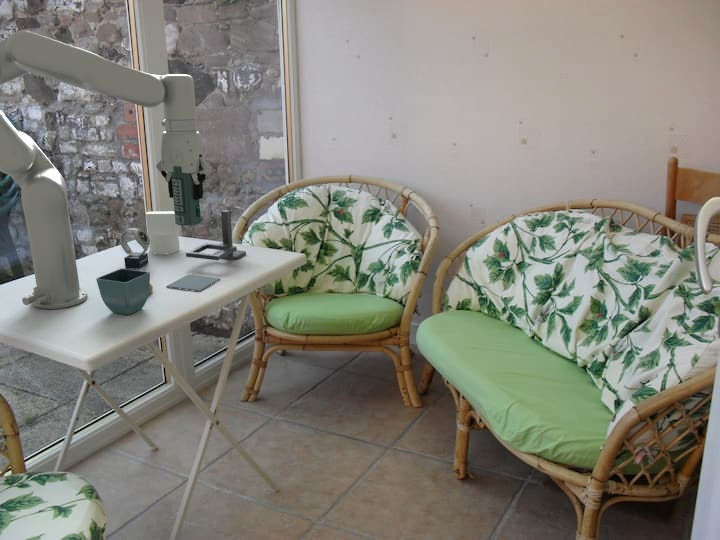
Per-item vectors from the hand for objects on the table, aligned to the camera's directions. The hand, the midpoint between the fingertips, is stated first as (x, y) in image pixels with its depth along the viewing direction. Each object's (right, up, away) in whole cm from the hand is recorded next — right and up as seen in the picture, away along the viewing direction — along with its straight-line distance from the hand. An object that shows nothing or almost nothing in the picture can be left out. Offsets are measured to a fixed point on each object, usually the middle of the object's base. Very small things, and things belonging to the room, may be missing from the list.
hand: (186, 197), depth 168 cm
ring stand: (+3, -16, +26) cm, 31 cm away
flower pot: (-11, -28, -11) cm, 33 cm away
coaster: (0, -22, +7) cm, 23 cm away
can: (0, -6, +2) cm, 7 cm away
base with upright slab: (-16, -13, +37) cm, 42 cm away
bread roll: (-13, -25, +1) cm, 28 cm away
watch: (-20, -17, +22) cm, 34 cm away
